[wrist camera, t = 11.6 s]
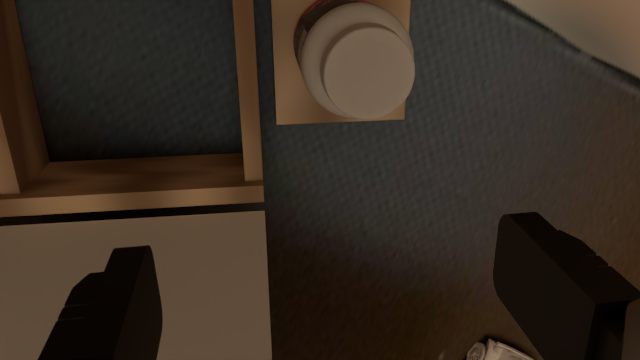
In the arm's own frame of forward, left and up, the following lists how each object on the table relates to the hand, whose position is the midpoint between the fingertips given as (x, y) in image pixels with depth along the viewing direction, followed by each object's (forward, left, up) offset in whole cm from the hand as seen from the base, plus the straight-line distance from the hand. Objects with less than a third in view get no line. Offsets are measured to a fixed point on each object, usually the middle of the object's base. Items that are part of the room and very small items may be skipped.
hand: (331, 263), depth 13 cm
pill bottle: (+3, +2, -22) cm, 22 cm away
